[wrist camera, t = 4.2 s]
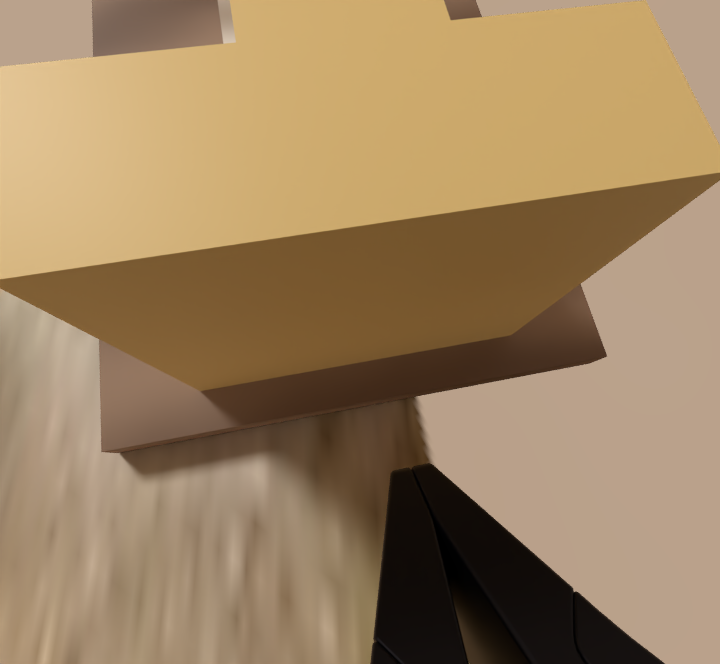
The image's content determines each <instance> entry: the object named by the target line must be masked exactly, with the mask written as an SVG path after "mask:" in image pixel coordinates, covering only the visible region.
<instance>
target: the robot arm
mask: <svg viewBox="0 0 720 664" xmlns="http://www.w3.org/2000/svg"><path fill="white" fill-rule="evenodd" d="M373 639H374V643H373V645H372V654H371V664H469V663H470V664H664V663H663V662H662V661H661V660H660V659H658V658H657V657H656V656H654V655H653V654H652V653H650V652H649V651H648V650H647V649H645V648H644V647H643V646H641V645H640V644H639V643H637V642H636V641H635V640H634V639H632V638H631V637H630V636H628V635H627V634H626V633H625V632H624V631H623V630H621V629H620V628H619V627H617V625H615V624H614V623H613V622H612V621H611V620H609V619H608V618H607V617H606V616H605V615H604V614H602V613H601V612H600V611H599V610H598V609H596V608H595V607H594V606H593V605H592V604H591V603H590V602H588V601H587V600H586V599H585V598H584V597H583V596H581V594H579V593H578V592H573V588H572V587H571V586H570V585H569V584H568V583H567V582H565V581H564V580H563V579H562V578H561V577H560V576H559V575H557V574H556V573H555V572H554V571H553V570H552V569H551V568H550V567H548V566H547V565H546V564H545V563H544V562H543V561H542V560H541V559H539V558H538V557H537V556H536V555H535V554H534V553H533V552H531V551H530V550H529V549H528V548H527V547H526V546H525V545H523V544H522V543H521V542H520V541H519V540H518V539H517V538H515V537H514V536H513V535H512V534H511V533H510V532H508V531H507V530H506V529H505V528H504V527H503V526H502V525H501V524H499V523H498V522H497V521H496V520H495V519H494V518H493V517H491V516H490V515H489V514H488V513H487V512H486V511H485V510H484V509H482V508H481V507H480V506H479V505H478V504H477V503H476V502H475V501H473V500H472V499H471V498H470V497H469V496H467V494H465V493H464V492H463V491H462V490H461V489H459V487H457V486H456V485H455V484H454V483H453V482H452V481H451V480H449V479H448V478H447V477H446V476H445V475H443V473H442V472H440V471H439V470H438V469H437V468H436V467H435V466H434V465H432V464H429V463H428V464H423V465H418V466H414V467H413V468H412V469H410V468H404V469H399V470H395V471H392V473H391V476H390V486H389V495H388V505H387V514H386V524H385V533H384V543H383V552H382V562H381V571H380V581H379V590H378V600H377V609H376V619H375V628H374V638H373ZM467 658H468V659H467ZM468 661H469V663H468Z"/></svg>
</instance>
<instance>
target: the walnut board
mask: <svg viewBox="0 0 720 664" xmlns="http://www.w3.org/2000/svg"><path fill="white" fill-rule="evenodd" d="M444 2H445V5H446V8H447V11H448V14H449V17H450V20H458V19H468V18H478V17H482V16H481V14H480V11H479V8H478V6H477V3H476V0H444ZM92 18H93V57H98V56H108V55H118V54H128V53H137V52H147V51H157V50H167V49H176V48H186V47H196V46H205V45H215V44H225V43H235V42H236V40H235V33H234V26H233V20H232V13H231V6H230V0H92ZM99 352H100V399H101V447H102V452H110V453H121V452H126V451H132V450H137V449H142V448H147V447H153V446H158V445H163V444H168V443H174V442H179V441H184V440H189V439H195V438H200V437H205V436H210V435H216V434H221V433H226V432H231V431H237V430H242V429H247V428H252V427H258V426H263V425H268V424H273V423H279V422H284V421H289V420H295V419H300V418H305V417H310V416H316V415H321V414H326V413H331V412H337V411H342V410H347V409H352V408H358V407H363V406H368V405H373V404H379V403H384V402H389V401H394V400H400V399H405V398H410V397H415V396H421V395H426V394H431V393H436V392H442V391H447V390H452V389H457V388H462V387H468V386H473V385H478V384H484V383H489V382H494V381H499V380H504V379H510V378H515V377H520V376H526V375H531V374H536V373H541V372H547V371H552V370H557V369H563V368H568V367H573V366H578V365H583V364H588V363H592V362H594V361H597V360H599V359H601V358H604V357H606V356H607V355H606V352H605V349H604V347H603V344H602V341H601V339H600V336H599V333H598V330H597V328H596V325H595V322H594V320H593V317H592V314H591V312H590V309H589V306H588V303H587V301H586V298H585V295H584V293H583V290H582V287H581V284H579V285H578V286H577V287H575V288H574V289H573V290H571V291H570V292H569V293H567V294H566V295H565V296H563V297H562V298H561V299H559V300H558V301H557V302H555V303H554V304H553V305H551V306H550V307H548V308H547V309H546V310H544V311H543V312H542V313H540V314H539V315H538V316H536V317H535V318H534V319H532V320H531V321H530V322H528V323H527V324H526V325H524V326H523V327H522V328H520V329H519V330H518V331H516V332H515V333H513V334H512V335H510V336H504V337H499V338H493V339H488V340H482V341H477V342H471V343H466V344H460V345H454V346H449V347H443V348H438V349H432V350H427V351H421V352H416V353H410V354H404V355H399V356H393V357H388V358H382V359H377V360H371V361H366V362H360V363H354V364H349V365H343V366H338V367H332V368H327V369H321V370H316V371H310V372H304V373H299V374H293V375H288V376H282V377H277V378H271V379H266V380H260V381H254V382H249V383H243V384H238V385H232V386H227V387H221V388H215V389H210V390H204V391H199V390H197V389H195V388H193V387H191V386H189V385H187V384H185V383H183V382H181V381H179V380H177V379H175V378H174V377H172V376H170V375H168V374H166V373H164V372H162V371H160V370H158V369H156V368H154V367H152V366H150V365H148V364H146V363H144V362H142V361H141V360H139V359H137V358H135V357H133V356H131V355H129V354H127V353H125V352H123V351H121V350H119V349H117V348H115V347H113V346H111V345H109V344H108V343H106V342H104V341H102V340H100V339H99Z"/></svg>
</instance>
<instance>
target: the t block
mask: <svg viewBox="0 0 720 664" xmlns="http://www.w3.org/2000/svg"><path fill="white" fill-rule="evenodd" d="M230 6H231V13H232V20H233V26H234V33H235V40H236V42H235V43H225V44H215V45H205V46H196V47H186V48H176V49H167V50H157V51H147V52H137V53H128V54H118V55H108V56H98V57H89V58H80V59H71V60H60V61H50V62H40V63H31V64H21V65H11V66H2V67H0V288H1V289H3V290H5V291H7V292H9V293H10V294H12V295H14V296H16V297H18V298H20V299H22V300H24V301H26V302H28V303H30V304H32V305H34V306H36V307H38V308H40V309H42V310H43V311H45V312H47V313H49V314H51V315H53V316H55V317H57V318H59V319H61V320H63V321H65V322H67V323H69V324H71V325H73V326H75V327H76V328H78V329H80V330H82V331H84V332H86V333H88V334H90V335H92V336H94V337H96V338H98V339H100V340H102V341H104V342H106V343H108V344H109V345H111V346H113V347H115V348H117V349H119V350H121V351H123V352H125V353H127V354H129V355H131V356H133V357H135V358H137V359H139V360H141V361H142V362H144V363H146V364H148V365H150V366H152V367H154V368H156V369H158V370H160V371H162V372H164V373H166V374H168V375H170V376H172V377H174V378H175V379H177V380H179V381H181V382H183V383H185V384H187V385H189V386H191V387H193V388H195V389H197V390H199V391H204V390H210V389H215V388H221V387H227V386H232V385H238V384H243V383H249V382H254V381H260V380H266V379H271V378H277V377H282V376H288V375H293V374H299V373H304V372H310V371H316V370H321V369H327V368H332V367H338V366H343V365H349V364H354V363H360V362H366V361H371V360H377V359H382V358H388V357H393V356H399V355H404V354H410V353H416V352H421V351H427V350H432V349H438V348H443V347H449V346H454V345H460V344H466V343H471V342H477V341H482V340H488V339H493V338H499V337H504V336H510V335H512V334H513V333H515V332H516V331H518V330H519V329H520V328H522V327H523V326H524V325H526V324H527V323H528V322H530V321H531V320H532V319H534V318H535V317H536V316H538V315H539V314H540V313H542V312H543V311H544V310H546V309H547V308H548V307H550V306H551V305H553V304H554V303H555V302H557V301H558V300H559V299H561V298H562V297H563V296H565V295H566V294H567V293H569V292H570V291H571V290H573V289H574V288H575V287H577V286H578V285H579V284H581V283H582V282H583V281H585V280H586V279H588V278H589V277H590V276H591V275H593V274H594V273H596V272H597V271H598V270H600V269H601V268H602V267H603V266H605V265H606V264H608V263H609V262H610V261H612V260H613V259H614V258H616V257H617V256H618V255H620V254H621V253H622V252H624V251H625V250H627V249H628V248H629V247H630V246H632V245H633V244H635V243H636V242H637V241H639V240H640V239H641V238H643V237H644V236H645V235H647V234H648V233H649V232H651V231H652V230H653V229H655V228H656V227H657V226H659V225H660V224H661V223H663V222H664V221H666V220H667V219H668V218H670V217H671V216H672V215H674V214H675V213H676V212H678V211H679V210H680V209H682V208H683V207H684V206H686V205H687V204H688V203H690V202H691V201H692V200H694V199H695V198H697V197H698V196H699V195H700V194H702V193H703V192H704V191H706V190H707V189H709V188H710V187H711V186H713V185H714V184H715V183H717V182H718V181H719V180H720V145H719V143H718V141H717V139H716V137H715V135H714V133H713V131H712V129H711V127H710V125H709V123H708V121H707V119H706V117H705V115H704V114H703V112H702V110H701V108H700V106H699V104H698V102H697V100H696V98H695V96H694V94H693V92H692V90H691V88H690V86H689V84H688V82H687V81H686V78H685V77H684V75H683V72H682V70H681V69H680V67H679V65H678V63H677V61H676V59H675V57H674V55H673V53H672V51H671V49H670V47H669V45H668V43H667V41H666V39H665V37H664V35H663V33H662V31H661V29H660V27H659V26H658V24H657V22H656V20H655V18H654V16H653V14H652V12H651V10H650V8H649V6H648V4H647V2H646V0H643V1H633V2H624V3H615V4H604V5H594V6H585V7H575V8H566V9H556V10H546V11H536V12H527V13H517V14H507V15H497V16H487V17H478V18H468V19H458V20H450V17H449V14H448V11H447V8H446V5H445V2H444V0H230Z"/></svg>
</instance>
